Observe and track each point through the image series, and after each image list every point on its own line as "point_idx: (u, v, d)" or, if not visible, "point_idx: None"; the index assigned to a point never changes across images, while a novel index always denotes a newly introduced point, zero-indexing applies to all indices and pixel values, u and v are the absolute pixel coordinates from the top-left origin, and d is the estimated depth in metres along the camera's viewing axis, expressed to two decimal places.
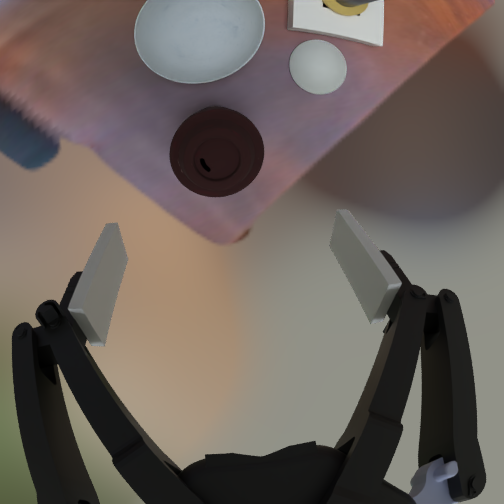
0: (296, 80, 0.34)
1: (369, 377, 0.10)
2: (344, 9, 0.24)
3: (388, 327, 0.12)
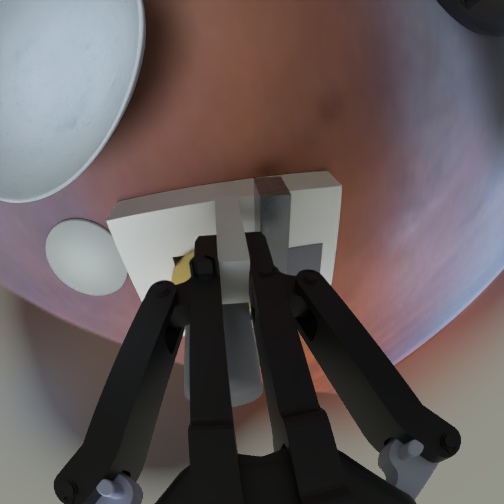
0: (49, 237, 0.21)
1: (262, 372, 0.10)
2: None
3: (253, 315, 0.12)
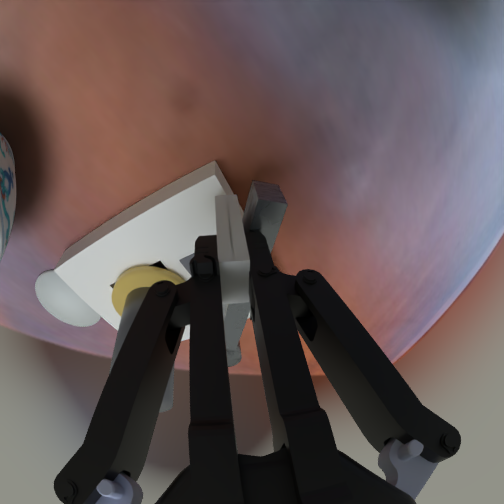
0: (36, 289, 0.25)
1: (261, 372, 0.10)
2: None
3: (253, 315, 0.12)
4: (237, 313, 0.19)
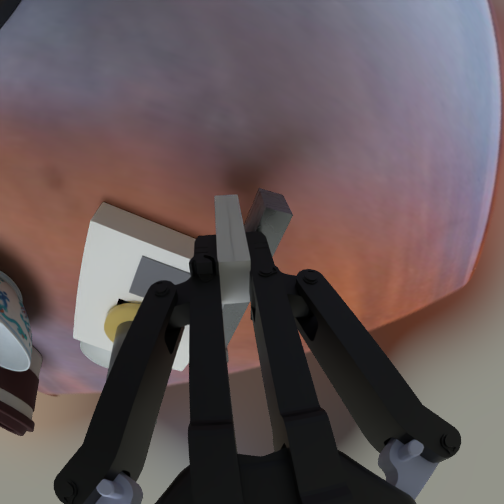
0: (86, 355, 0.33)
1: (262, 372, 0.10)
2: None
3: (253, 315, 0.12)
4: (230, 317, 0.19)
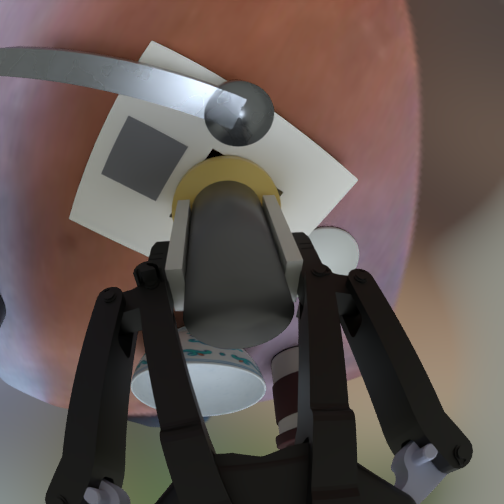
0: None
1: (299, 368, 0.10)
2: None
3: (300, 312, 0.13)
4: (113, 76, 0.09)
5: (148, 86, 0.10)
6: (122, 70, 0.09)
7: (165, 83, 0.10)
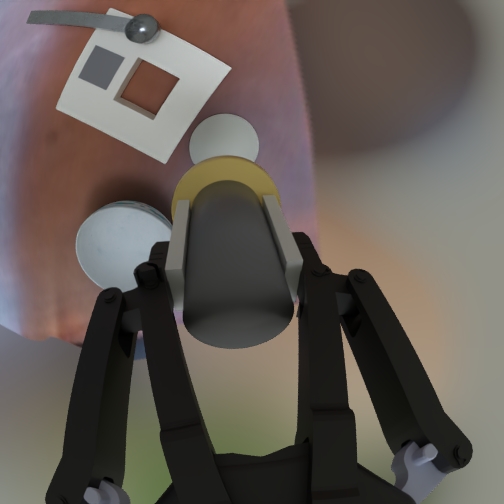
0: None
1: (299, 368, 0.10)
2: None
3: (300, 312, 0.13)
4: (87, 19, 0.16)
5: (102, 22, 0.16)
6: (91, 17, 0.16)
7: (109, 20, 0.16)
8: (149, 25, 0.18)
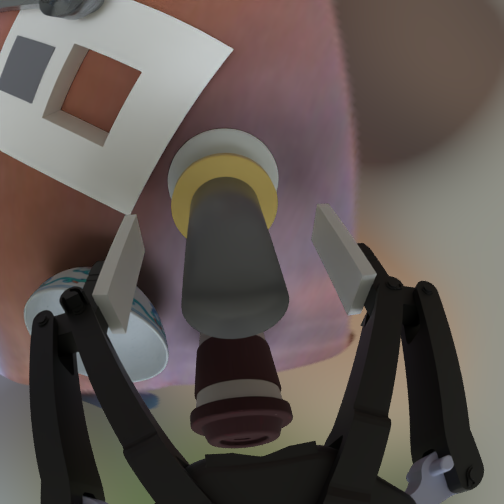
0: None
1: (351, 372, 0.10)
2: None
3: (366, 320, 0.12)
4: None
5: None
6: None
7: None
8: None
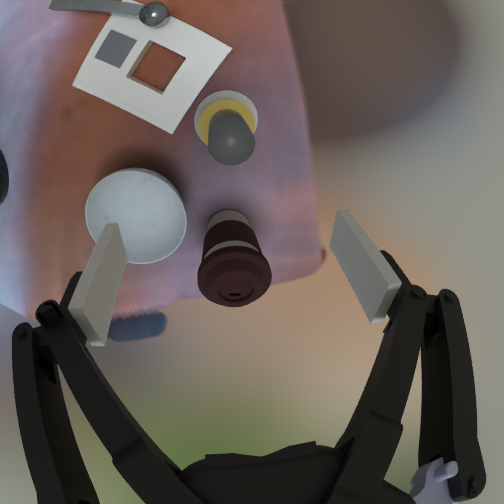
0: None
1: (369, 377, 0.10)
2: None
3: (388, 327, 0.12)
4: (105, 5, 0.18)
5: (118, 8, 0.18)
6: (109, 3, 0.18)
7: (124, 6, 0.19)
8: (160, 10, 0.20)
